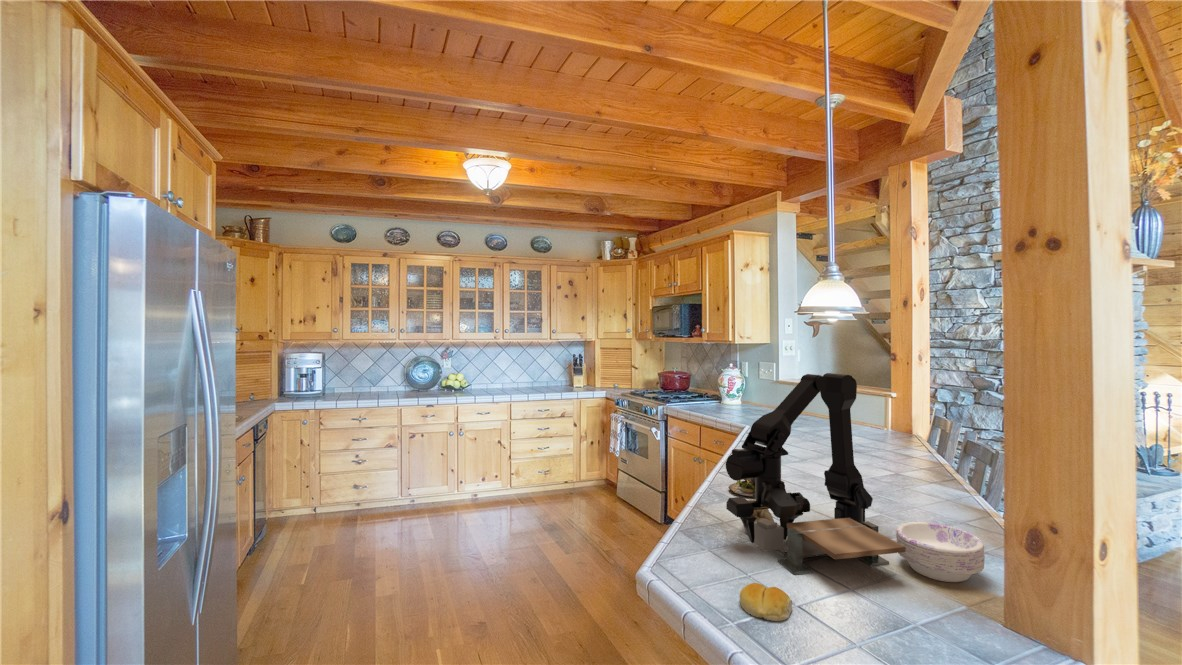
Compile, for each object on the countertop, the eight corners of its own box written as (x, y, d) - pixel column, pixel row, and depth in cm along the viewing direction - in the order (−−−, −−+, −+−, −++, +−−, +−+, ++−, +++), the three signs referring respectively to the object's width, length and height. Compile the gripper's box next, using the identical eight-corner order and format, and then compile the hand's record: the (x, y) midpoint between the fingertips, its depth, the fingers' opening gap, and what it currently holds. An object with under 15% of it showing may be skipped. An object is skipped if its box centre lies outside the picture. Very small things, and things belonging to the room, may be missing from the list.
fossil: (740, 511, 125) (752, 492, 133) (729, 520, 127) (741, 501, 136) (769, 539, 123) (779, 517, 131) (758, 548, 125) (768, 526, 133)
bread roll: (746, 592, 98) (746, 572, 98) (794, 606, 93) (794, 584, 93) (733, 612, 91) (733, 590, 91) (785, 628, 86) (785, 605, 86)
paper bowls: (883, 568, 107) (883, 531, 107) (913, 550, 116) (913, 515, 116) (968, 599, 95) (969, 557, 95) (995, 575, 104) (995, 537, 104)
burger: (721, 489, 161) (721, 466, 161) (753, 486, 164) (753, 463, 164) (743, 502, 149) (743, 477, 149) (777, 498, 153) (777, 473, 153)
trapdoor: (849, 540, 116) (849, 517, 116) (905, 573, 100) (905, 546, 100) (786, 547, 113) (786, 522, 113) (834, 582, 97) (834, 553, 97)
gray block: (771, 540, 122) (771, 517, 122) (783, 549, 117) (783, 525, 117) (752, 542, 121) (752, 519, 121) (764, 551, 116) (764, 527, 116)
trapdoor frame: (861, 548, 117) (861, 514, 117) (889, 564, 109) (889, 528, 109) (771, 557, 113) (771, 522, 112) (793, 575, 104) (794, 537, 104)
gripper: (749, 488, 109) (749, 560, 109) (825, 482, 113) (825, 552, 113) (725, 473, 120) (725, 539, 120) (795, 469, 123) (795, 532, 124)
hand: (768, 541), depth 119 cm, fingers open, 8 cm apart
